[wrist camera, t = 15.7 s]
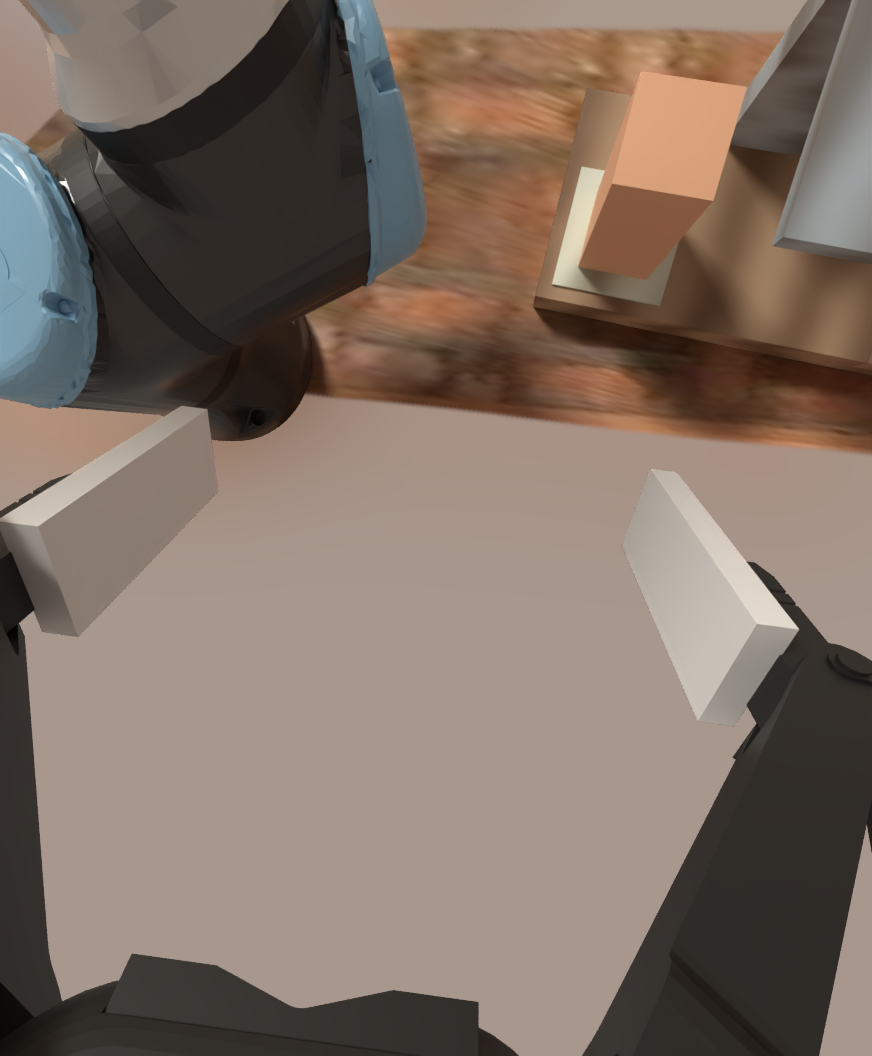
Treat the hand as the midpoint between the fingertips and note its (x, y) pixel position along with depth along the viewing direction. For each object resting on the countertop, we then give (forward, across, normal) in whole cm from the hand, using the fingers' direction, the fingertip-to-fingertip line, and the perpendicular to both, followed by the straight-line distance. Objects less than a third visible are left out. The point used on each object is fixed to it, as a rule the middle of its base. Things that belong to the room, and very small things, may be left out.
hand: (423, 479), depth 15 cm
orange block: (+29, +11, +7) cm, 32 cm away
